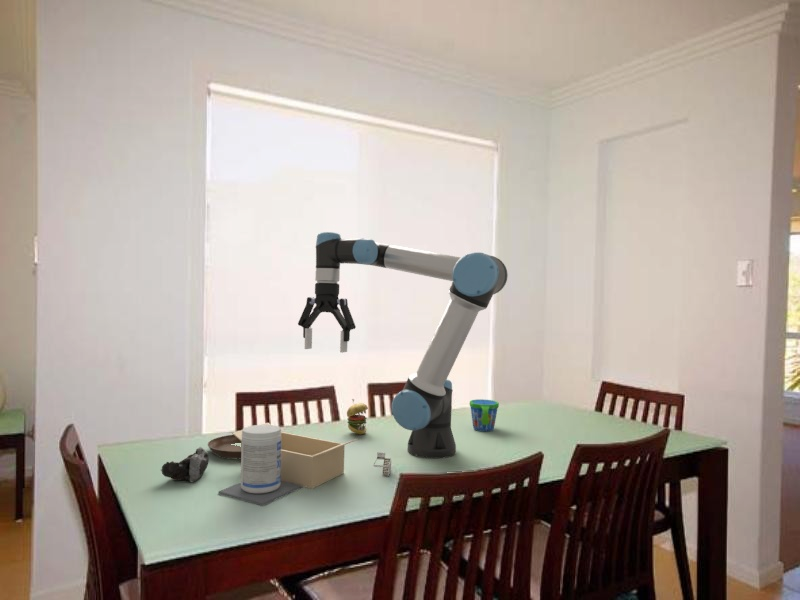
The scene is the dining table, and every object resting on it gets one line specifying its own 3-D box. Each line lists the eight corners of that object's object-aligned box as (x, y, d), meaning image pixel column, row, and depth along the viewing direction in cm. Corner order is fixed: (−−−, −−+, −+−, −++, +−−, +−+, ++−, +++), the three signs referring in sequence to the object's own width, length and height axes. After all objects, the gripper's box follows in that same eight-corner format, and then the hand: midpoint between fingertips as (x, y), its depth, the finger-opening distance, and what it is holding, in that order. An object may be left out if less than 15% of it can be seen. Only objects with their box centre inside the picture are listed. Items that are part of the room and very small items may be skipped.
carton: (356, 475, 151) (357, 438, 151) (325, 491, 139) (326, 451, 139) (267, 456, 166) (267, 422, 166) (231, 469, 154) (232, 432, 154)
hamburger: (362, 437, 190) (363, 402, 190) (342, 434, 193) (343, 400, 192) (370, 431, 198) (371, 398, 197) (351, 429, 200) (352, 396, 200)
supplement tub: (286, 490, 137) (287, 430, 137) (248, 497, 132) (249, 435, 132) (271, 479, 145) (273, 422, 145) (235, 485, 140) (236, 426, 140)
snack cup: (470, 423, 214) (471, 396, 214) (498, 425, 212) (499, 398, 212) (467, 433, 199) (468, 405, 199) (497, 436, 197) (498, 407, 197)
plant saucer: (221, 441, 181) (221, 431, 181) (285, 444, 181) (285, 433, 181) (196, 461, 161) (196, 449, 161) (268, 464, 160) (268, 452, 160)
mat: (301, 487, 141) (301, 485, 141) (262, 505, 129) (262, 503, 129) (259, 477, 148) (259, 475, 148) (218, 493, 136) (218, 491, 136)
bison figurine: (210, 469, 154) (171, 468, 152) (211, 444, 153) (173, 443, 152) (200, 486, 142) (159, 485, 140) (202, 458, 142) (160, 457, 140)
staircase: (376, 472, 156) (377, 452, 156) (390, 473, 156) (391, 453, 156) (372, 479, 150) (373, 459, 150) (387, 480, 149) (388, 460, 149)
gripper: (367, 283, 172) (365, 352, 173) (302, 281, 184) (301, 346, 185) (354, 282, 166) (352, 354, 166) (288, 281, 178) (286, 348, 178)
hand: (325, 350), depth 175 cm, fingers open, 13 cm apart
